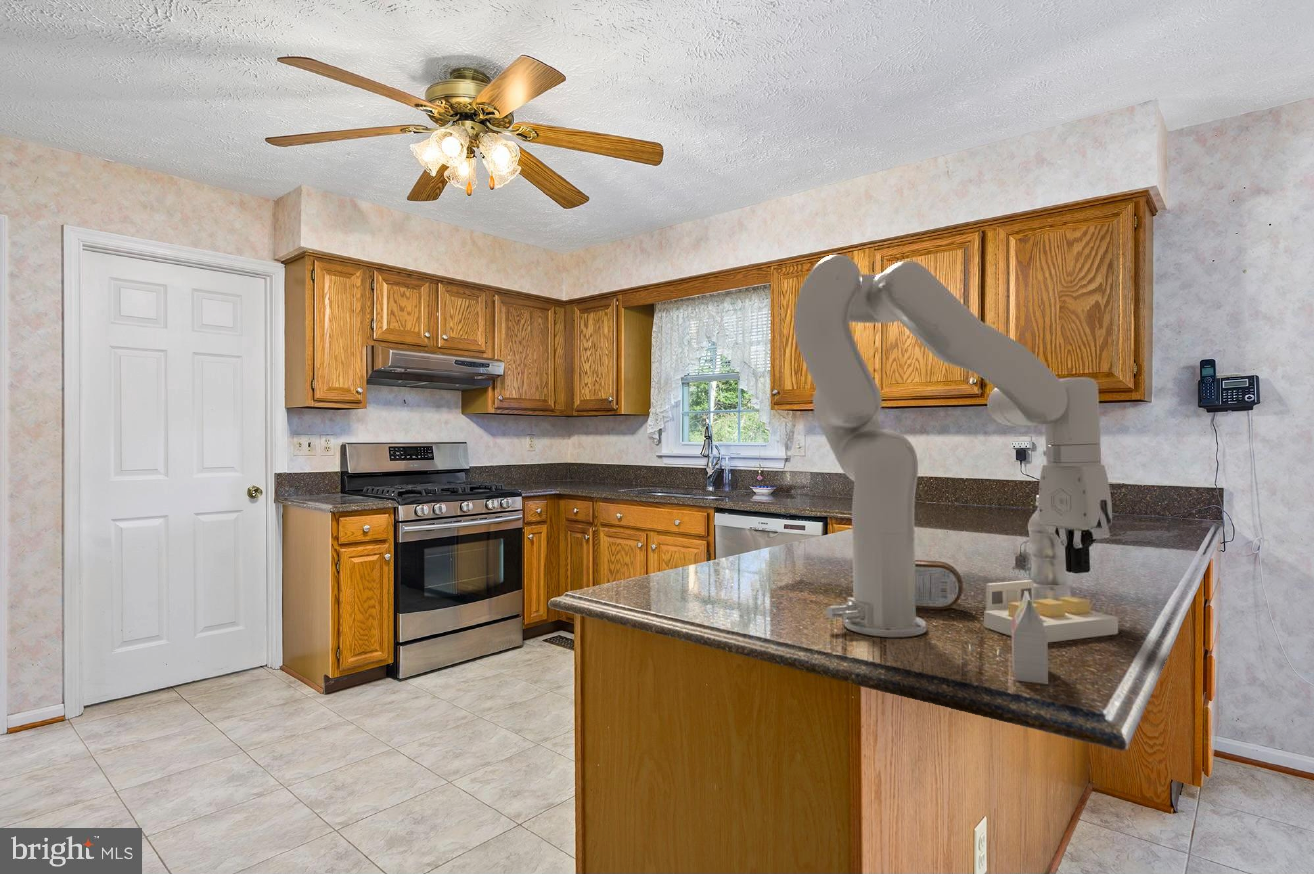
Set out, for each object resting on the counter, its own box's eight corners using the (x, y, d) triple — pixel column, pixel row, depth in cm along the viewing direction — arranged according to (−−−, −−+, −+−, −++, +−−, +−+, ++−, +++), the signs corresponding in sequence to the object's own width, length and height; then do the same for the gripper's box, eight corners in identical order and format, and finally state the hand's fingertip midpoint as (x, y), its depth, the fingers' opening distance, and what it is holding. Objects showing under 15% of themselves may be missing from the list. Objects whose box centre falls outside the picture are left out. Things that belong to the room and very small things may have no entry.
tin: (962, 608, 126) (962, 560, 126) (964, 612, 123) (963, 563, 123) (874, 602, 131) (873, 557, 131) (873, 606, 128) (873, 560, 128)
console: (1034, 643, 104) (1034, 626, 104) (984, 626, 113) (984, 611, 113) (1118, 633, 108) (1117, 617, 108) (1062, 618, 118) (1062, 603, 118)
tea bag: (1043, 667, 93) (1042, 591, 93) (1048, 684, 87) (1046, 602, 87) (1012, 664, 95) (1011, 589, 95) (1014, 680, 88) (1013, 599, 88)
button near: (1023, 628, 107) (1023, 606, 107) (1008, 623, 110) (1008, 602, 110) (1039, 626, 108) (1039, 605, 108) (1024, 621, 111) (1023, 601, 111)
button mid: (1049, 625, 109) (1049, 604, 109) (1034, 620, 112) (1033, 600, 112) (1065, 623, 110) (1065, 602, 110) (1049, 618, 113) (1048, 598, 113)
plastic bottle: (1059, 606, 126) (1058, 493, 126) (1078, 615, 120) (1076, 496, 120) (1022, 605, 127) (1020, 494, 127) (1038, 614, 120) (1036, 497, 120)
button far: (1075, 622, 110) (1075, 601, 110) (1059, 617, 113) (1058, 597, 113) (1090, 620, 111) (1089, 600, 111) (1073, 616, 114) (1073, 596, 114)
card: (990, 621, 116) (990, 584, 116) (986, 619, 117) (985, 583, 117) (1034, 616, 119) (1033, 580, 119) (1029, 615, 120) (1029, 579, 120)
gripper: (1017, 456, 118) (1021, 566, 118) (1096, 457, 104) (1102, 582, 104) (1052, 454, 121) (1057, 562, 120) (1135, 455, 106) (1140, 577, 106)
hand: (1078, 571), depth 112 cm, fingers closed
